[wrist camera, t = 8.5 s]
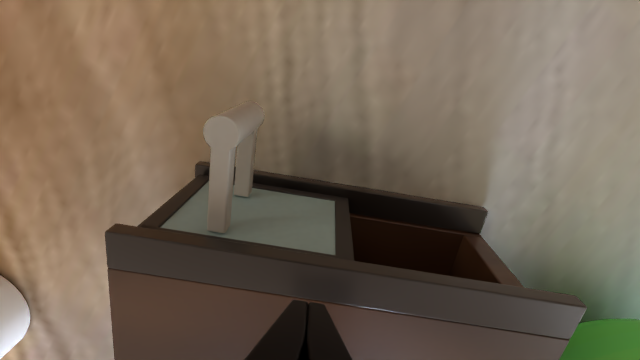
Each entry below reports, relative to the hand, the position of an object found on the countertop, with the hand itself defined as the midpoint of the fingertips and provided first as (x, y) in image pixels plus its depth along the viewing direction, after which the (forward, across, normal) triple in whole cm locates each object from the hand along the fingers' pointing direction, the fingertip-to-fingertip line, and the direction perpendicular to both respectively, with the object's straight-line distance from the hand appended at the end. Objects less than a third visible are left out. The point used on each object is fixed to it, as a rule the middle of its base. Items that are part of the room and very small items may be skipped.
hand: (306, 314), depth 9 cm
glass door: (+11, +3, -1) cm, 12 cm away
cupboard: (+12, -1, +7) cm, 14 cm away
